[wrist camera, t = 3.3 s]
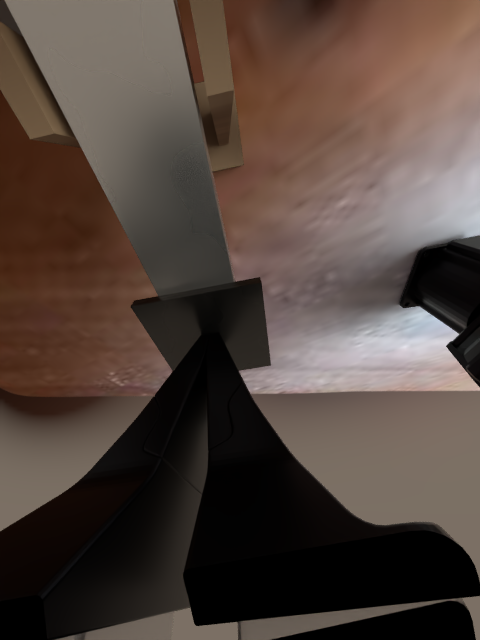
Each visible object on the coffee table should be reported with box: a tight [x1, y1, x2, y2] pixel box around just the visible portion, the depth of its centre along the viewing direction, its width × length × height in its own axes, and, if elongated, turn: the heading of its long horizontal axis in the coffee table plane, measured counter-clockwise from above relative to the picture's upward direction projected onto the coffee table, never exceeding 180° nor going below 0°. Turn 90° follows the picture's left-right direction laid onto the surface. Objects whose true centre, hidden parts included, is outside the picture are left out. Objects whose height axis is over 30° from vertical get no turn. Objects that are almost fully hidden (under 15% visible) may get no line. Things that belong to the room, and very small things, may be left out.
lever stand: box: [0, 0, 244, 172], centre depth 8 cm, size 4×6×11 cm, turn 100°
